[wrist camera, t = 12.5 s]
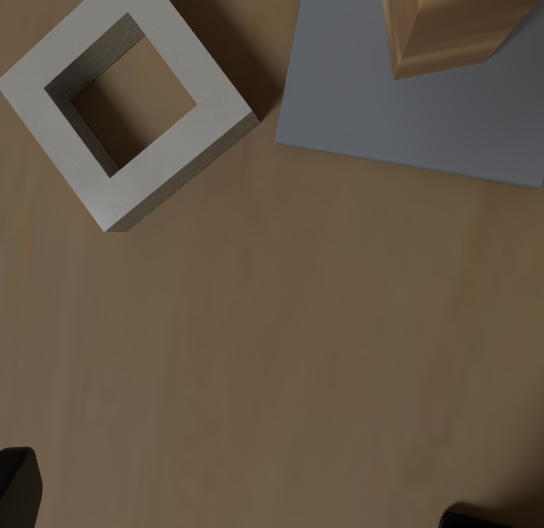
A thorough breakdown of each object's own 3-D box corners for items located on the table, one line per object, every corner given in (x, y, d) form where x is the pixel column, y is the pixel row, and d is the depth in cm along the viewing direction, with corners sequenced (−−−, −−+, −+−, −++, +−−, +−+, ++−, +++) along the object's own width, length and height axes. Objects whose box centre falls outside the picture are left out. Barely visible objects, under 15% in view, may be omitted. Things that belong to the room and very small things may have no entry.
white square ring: (260, 122, 21) (252, 110, 19) (125, 232, 22) (104, 232, 20) (153, -20, 21) (134, -47, 19) (25, 96, 22) (-6, 82, 20)
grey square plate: (603, -92, 18) (611, -101, 18) (536, 188, 19) (541, 187, 19) (325, -120, 20) (325, -129, 19) (275, 143, 21) (274, 141, 20)
